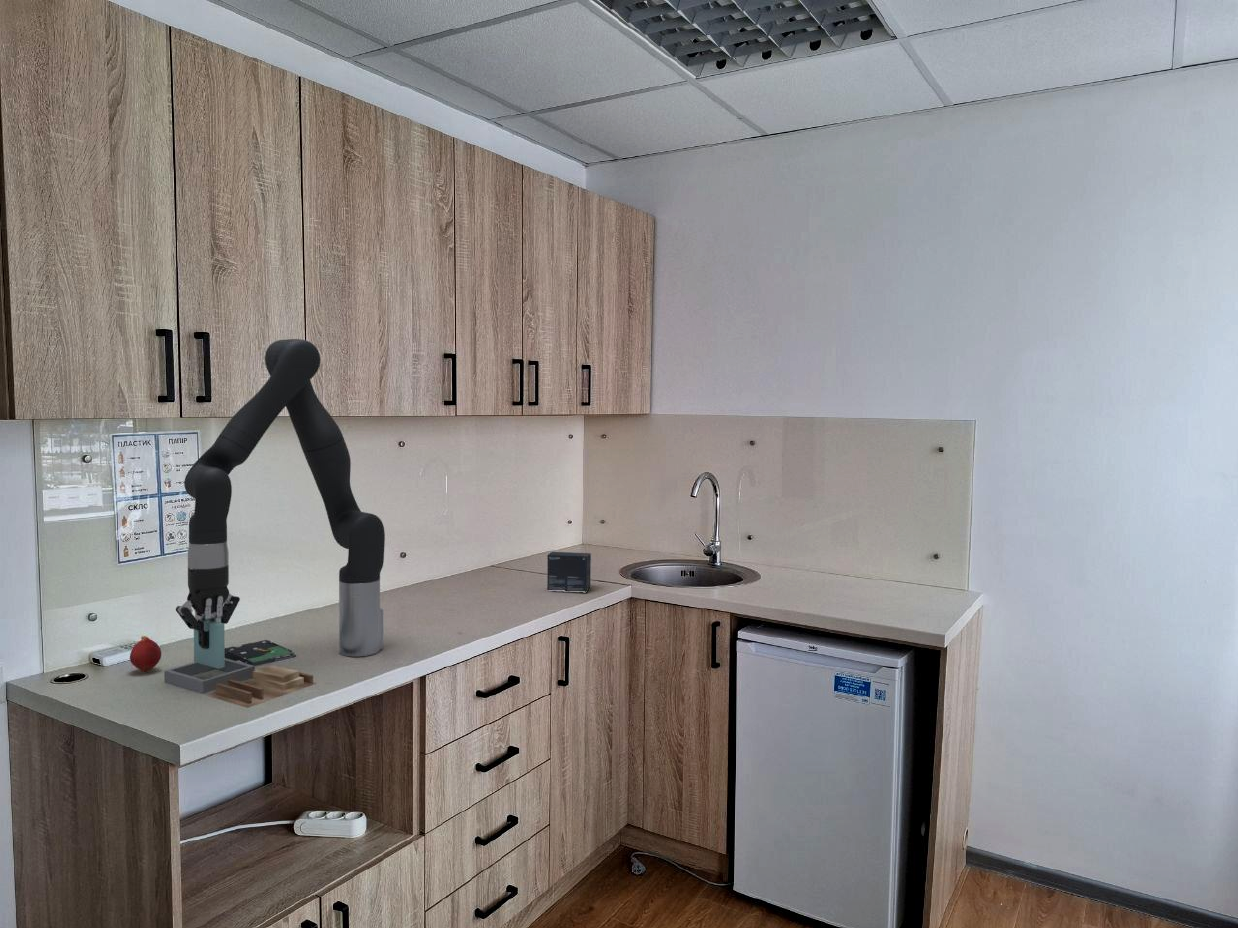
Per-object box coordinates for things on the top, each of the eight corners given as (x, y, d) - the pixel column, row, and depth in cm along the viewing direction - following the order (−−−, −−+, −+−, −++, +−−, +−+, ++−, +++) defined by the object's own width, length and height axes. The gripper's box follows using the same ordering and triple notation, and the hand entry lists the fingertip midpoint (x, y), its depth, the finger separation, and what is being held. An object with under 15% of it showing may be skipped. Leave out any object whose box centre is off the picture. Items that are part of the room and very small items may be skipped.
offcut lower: (274, 675, 173) (274, 669, 172) (303, 683, 168) (303, 677, 168) (253, 682, 168) (253, 676, 168) (283, 690, 164) (283, 684, 164)
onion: (148, 666, 181) (147, 630, 180) (167, 669, 179) (167, 633, 178) (124, 674, 175) (123, 637, 175) (143, 677, 173) (142, 640, 173)
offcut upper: (269, 671, 172) (269, 665, 172) (299, 676, 169) (299, 670, 169) (252, 677, 168) (252, 671, 168) (282, 683, 165) (282, 676, 165)
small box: (591, 589, 265) (591, 552, 265) (586, 594, 259) (587, 556, 258) (551, 587, 267) (551, 550, 267) (546, 591, 261) (546, 554, 260)
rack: (274, 677, 175) (274, 663, 175) (316, 688, 169) (316, 673, 168) (204, 700, 161) (204, 684, 161) (247, 713, 155) (247, 697, 154)
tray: (216, 672, 178) (216, 655, 178) (254, 682, 172) (254, 665, 171) (164, 687, 168) (164, 670, 167) (203, 699, 162) (202, 681, 161)
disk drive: (222, 660, 188) (252, 674, 178) (222, 648, 188) (252, 661, 178) (266, 650, 196) (297, 663, 186) (266, 639, 196) (297, 651, 186)
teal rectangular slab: (200, 660, 172) (200, 617, 171) (224, 666, 168) (224, 623, 167) (194, 661, 171) (193, 619, 170) (218, 668, 167) (218, 625, 166)
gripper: (226, 557, 176) (227, 636, 177) (165, 566, 164) (166, 652, 165) (249, 561, 172) (249, 642, 173) (188, 571, 160) (189, 658, 161)
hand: (208, 646), depth 169 cm, fingers closed on teal rectangular slab, 1 cm apart
